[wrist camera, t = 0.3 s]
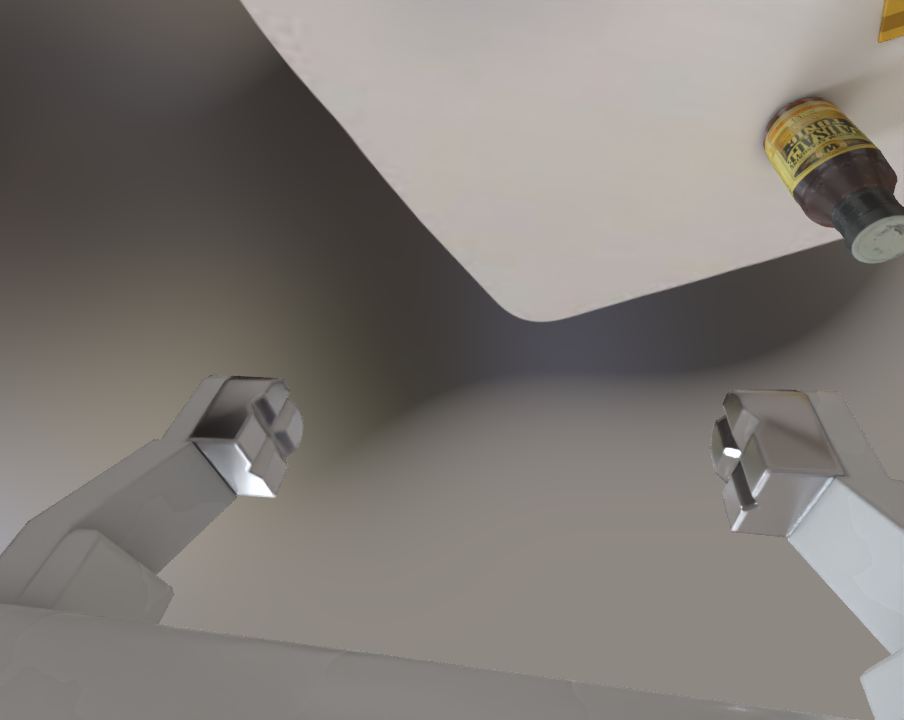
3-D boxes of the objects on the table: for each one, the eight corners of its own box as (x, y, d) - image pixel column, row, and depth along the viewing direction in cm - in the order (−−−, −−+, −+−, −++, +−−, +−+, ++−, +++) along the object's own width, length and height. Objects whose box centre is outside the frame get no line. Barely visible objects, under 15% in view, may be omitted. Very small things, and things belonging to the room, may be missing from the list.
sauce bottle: (827, 79, 45) (956, 176, 31) (837, 138, 48) (958, 249, 34) (748, 120, 48) (833, 224, 34) (763, 173, 51) (845, 287, 37)
